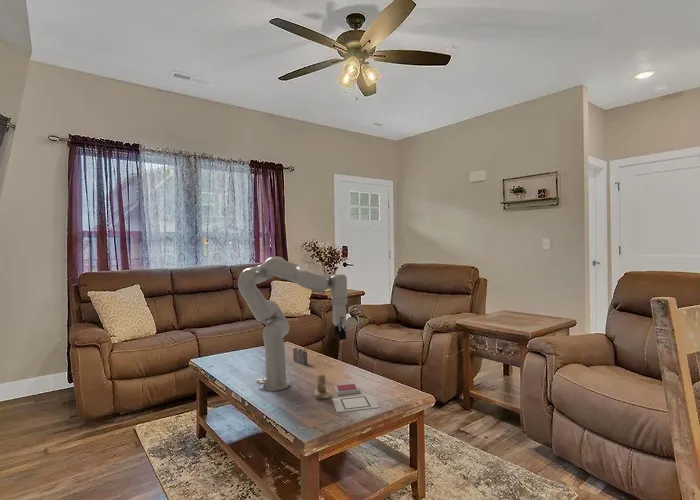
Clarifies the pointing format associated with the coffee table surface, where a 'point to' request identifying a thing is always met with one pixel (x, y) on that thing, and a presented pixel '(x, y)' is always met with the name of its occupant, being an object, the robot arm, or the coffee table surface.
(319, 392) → the stamp
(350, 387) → the ink pad
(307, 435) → the coffee table surface
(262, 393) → the coffee table surface
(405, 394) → the coffee table surface
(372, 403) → the marked card
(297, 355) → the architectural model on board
